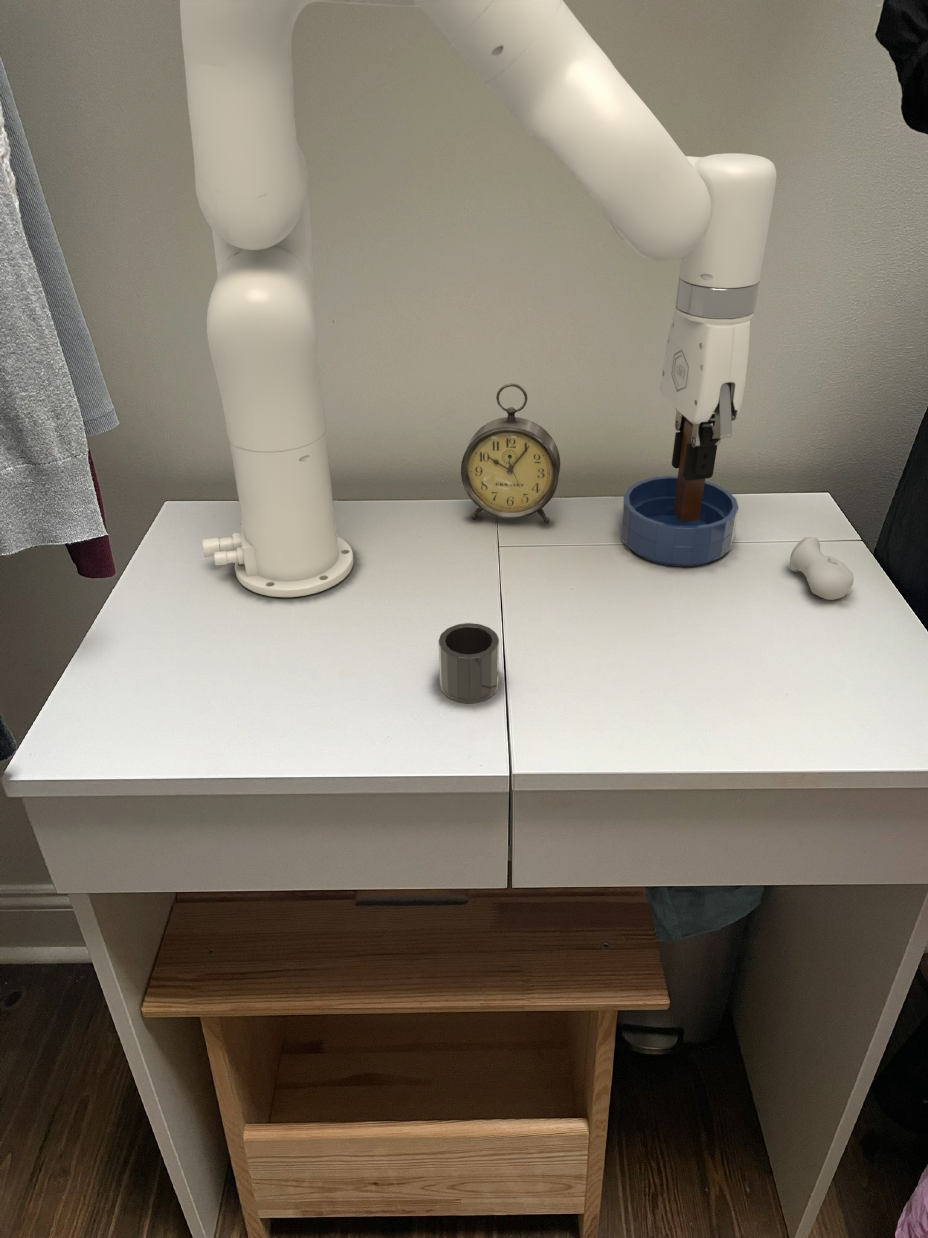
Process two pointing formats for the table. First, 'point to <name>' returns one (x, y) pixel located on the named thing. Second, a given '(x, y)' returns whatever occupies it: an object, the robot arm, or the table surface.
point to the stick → (688, 485)
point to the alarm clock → (511, 466)
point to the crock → (469, 662)
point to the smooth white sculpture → (821, 570)
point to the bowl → (677, 523)
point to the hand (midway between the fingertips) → (691, 470)
